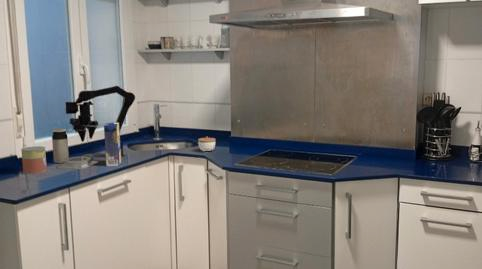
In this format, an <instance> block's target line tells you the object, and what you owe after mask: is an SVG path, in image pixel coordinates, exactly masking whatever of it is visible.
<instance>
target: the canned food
mask: <svg viewBox="0 0 482 269" xmlns="http://www.w3.org/2000/svg"><path fill="white" fill-rule="evenodd" d="M20 150H21V157H22V158H21V162H22V170H23V171H22V173H23V174H26V175H36V174H42V173H46V172H47V171H48V169H47V168H48V167H47V157H46V153H47V152H46V147H45V146H41V145H40V146H35V145H34V146H27V147H23V148H21V149H20Z"/></svg>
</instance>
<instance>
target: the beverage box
mask: <svg viewBox="0 0 482 269" xmlns="http://www.w3.org/2000/svg"><path fill="white" fill-rule="evenodd" d="M103 131H104V132H103V134H104V152H105V154H104V155H105V167H118V165H119V166H120V165H121V162H122V157H121V148H120V141H121V130H120V129H119V123H116V122H106V123H105V124H104V125H103Z"/></svg>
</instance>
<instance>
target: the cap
mask: <svg viewBox="0 0 482 269" xmlns="http://www.w3.org/2000/svg"><path fill="white" fill-rule="evenodd" d="M81 157H90V158H91V161H93V160H94V154H93V153H86V154H82V155H81Z"/></svg>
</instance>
